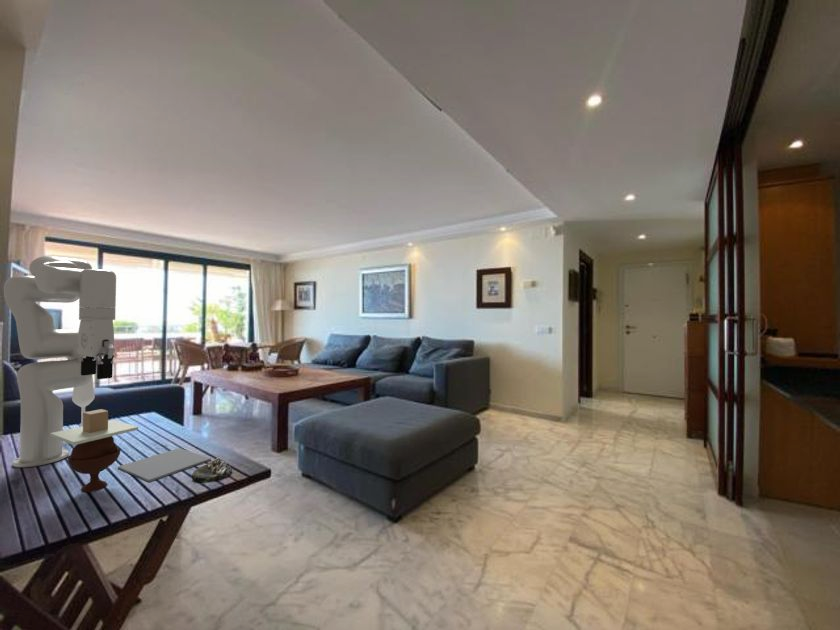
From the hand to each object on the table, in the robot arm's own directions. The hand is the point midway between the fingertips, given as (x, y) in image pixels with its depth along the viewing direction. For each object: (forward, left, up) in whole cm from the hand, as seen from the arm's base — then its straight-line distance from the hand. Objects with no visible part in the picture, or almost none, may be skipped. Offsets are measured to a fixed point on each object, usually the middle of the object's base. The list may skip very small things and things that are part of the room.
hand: (96, 376), depth 100 cm
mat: (+1, +18, -30) cm, 35 cm away
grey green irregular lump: (+20, +21, -31) cm, 42 cm away
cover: (0, 0, -15) cm, 15 cm away
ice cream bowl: (0, 0, -31) cm, 31 cm away
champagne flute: (-61, +19, -31) cm, 71 cm away
